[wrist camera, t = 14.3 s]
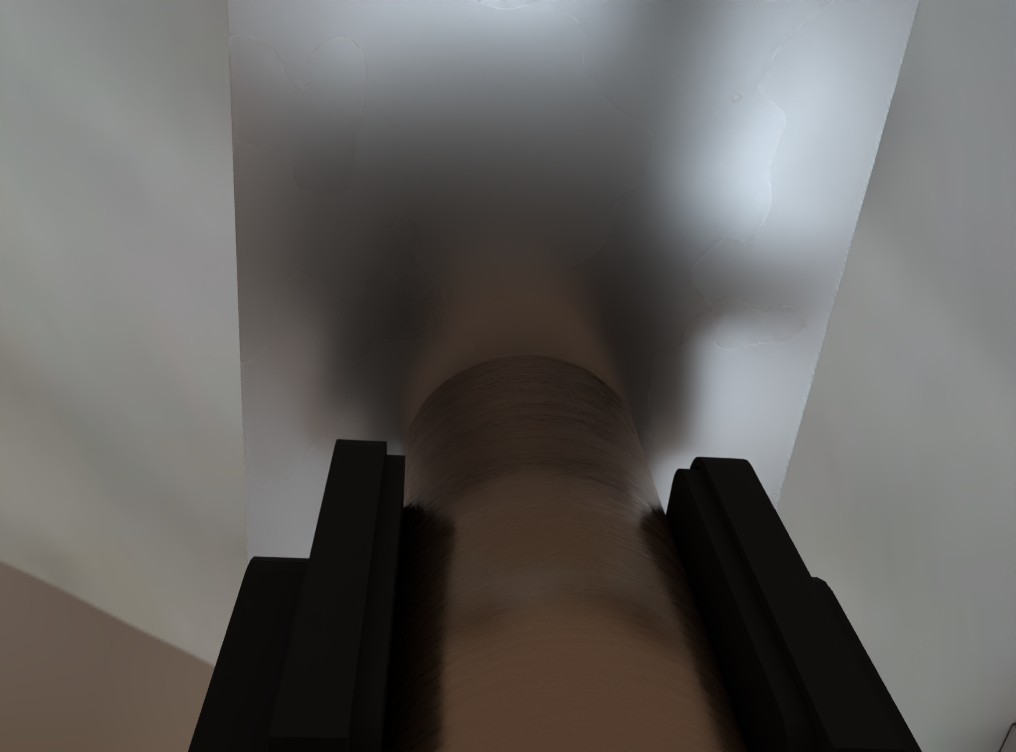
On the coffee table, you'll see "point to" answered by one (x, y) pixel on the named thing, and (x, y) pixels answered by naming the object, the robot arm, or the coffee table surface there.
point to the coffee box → (1010, 741)
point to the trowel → (542, 318)
